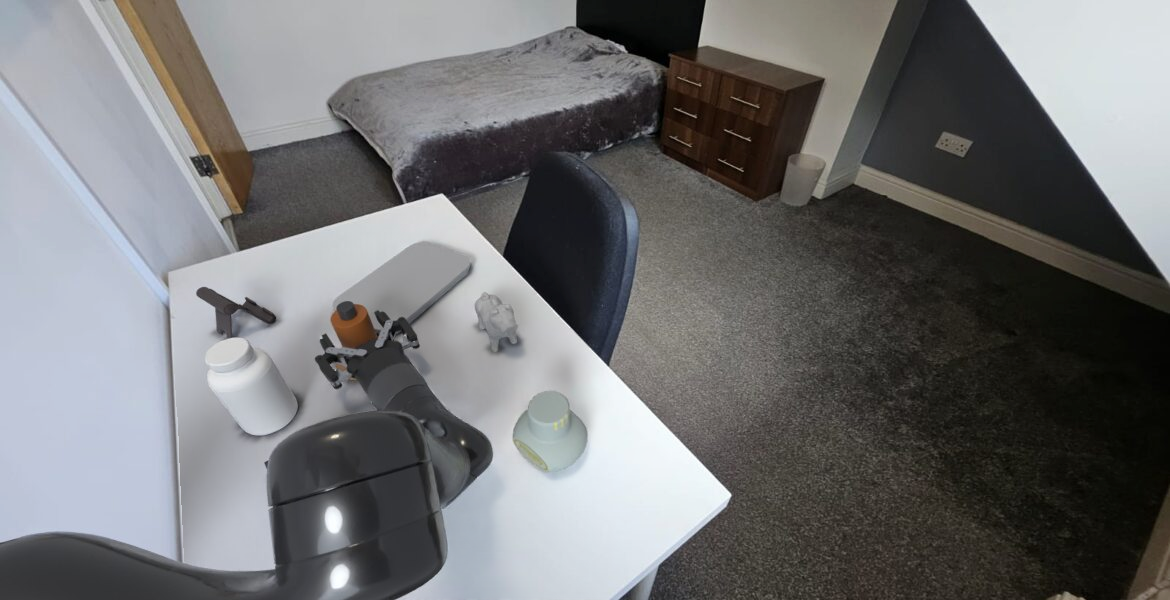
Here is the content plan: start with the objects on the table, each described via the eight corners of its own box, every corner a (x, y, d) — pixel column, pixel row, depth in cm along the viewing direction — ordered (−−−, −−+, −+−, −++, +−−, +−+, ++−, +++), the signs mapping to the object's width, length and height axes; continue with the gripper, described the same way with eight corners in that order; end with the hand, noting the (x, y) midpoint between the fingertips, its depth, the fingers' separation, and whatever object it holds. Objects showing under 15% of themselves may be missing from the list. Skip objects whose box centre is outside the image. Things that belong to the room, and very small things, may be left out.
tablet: (328, 314, 91) (324, 305, 90) (421, 247, 109) (419, 238, 107) (391, 343, 86) (387, 334, 85) (478, 267, 103) (476, 259, 102)
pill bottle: (304, 420, 73) (262, 356, 63) (245, 446, 70) (192, 382, 60) (295, 387, 78) (255, 322, 68) (239, 409, 75) (189, 344, 65)
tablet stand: (279, 320, 90) (259, 287, 84) (238, 346, 85) (214, 312, 79) (251, 304, 93) (231, 271, 88) (211, 328, 88) (186, 294, 82)
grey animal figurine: (501, 367, 82) (495, 323, 75) (474, 323, 90) (466, 280, 83) (528, 355, 85) (525, 312, 77) (499, 313, 93) (493, 270, 85)
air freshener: (505, 444, 71) (499, 404, 64) (543, 409, 76) (540, 368, 69) (559, 489, 66) (557, 450, 59) (596, 448, 71) (598, 409, 64)
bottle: (356, 373, 80) (333, 323, 72) (344, 354, 83) (320, 304, 75) (388, 358, 83) (369, 307, 75) (375, 340, 86) (355, 290, 78)
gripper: (434, 344, 70) (387, 290, 79) (336, 395, 62) (297, 329, 71) (443, 377, 75) (398, 322, 83) (353, 427, 67) (315, 362, 76)
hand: (351, 326), depth 77 cm, fingers open, 8 cm apart
